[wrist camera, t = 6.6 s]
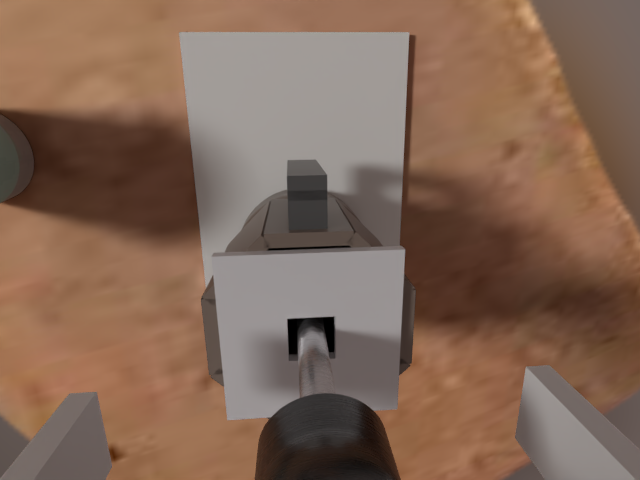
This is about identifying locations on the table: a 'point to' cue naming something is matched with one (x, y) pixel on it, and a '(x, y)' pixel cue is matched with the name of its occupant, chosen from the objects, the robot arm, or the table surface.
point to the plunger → (323, 426)
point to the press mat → (295, 123)
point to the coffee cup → (14, 160)
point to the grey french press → (306, 301)
